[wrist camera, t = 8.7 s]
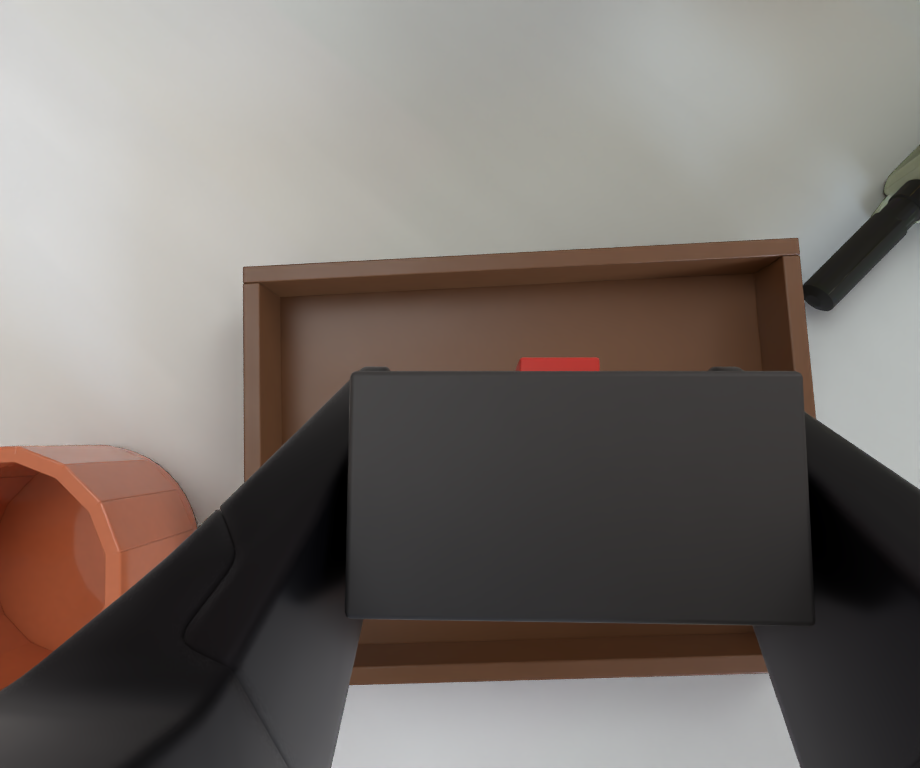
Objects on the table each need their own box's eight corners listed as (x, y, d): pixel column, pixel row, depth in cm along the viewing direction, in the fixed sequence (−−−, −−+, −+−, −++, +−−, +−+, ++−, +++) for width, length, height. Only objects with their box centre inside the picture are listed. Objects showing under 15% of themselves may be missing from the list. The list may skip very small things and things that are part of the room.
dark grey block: (616, 516, 15) (819, 628, 6) (425, 514, 15) (342, 621, 6) (613, 401, 15) (804, 341, 6) (426, 400, 15) (349, 343, 6)
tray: (797, 642, 21) (842, 672, 19) (273, 658, 22) (244, 689, 19) (761, 261, 23) (799, 237, 20) (269, 286, 23) (242, 266, 21)
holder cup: (200, 660, 22) (117, 724, 17) (-13, 667, 22) (-154, 731, 17) (200, 441, 23) (122, 441, 18) (-6, 449, 23) (-138, 452, 18)
